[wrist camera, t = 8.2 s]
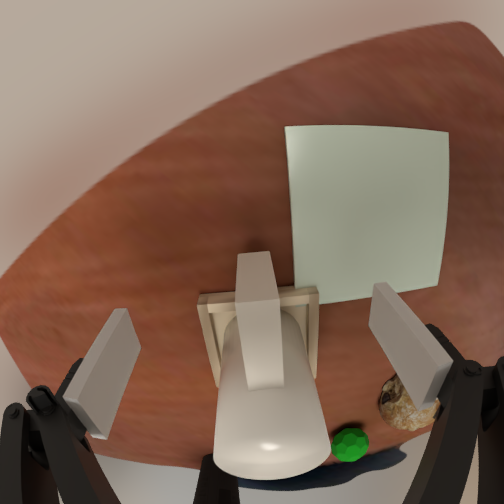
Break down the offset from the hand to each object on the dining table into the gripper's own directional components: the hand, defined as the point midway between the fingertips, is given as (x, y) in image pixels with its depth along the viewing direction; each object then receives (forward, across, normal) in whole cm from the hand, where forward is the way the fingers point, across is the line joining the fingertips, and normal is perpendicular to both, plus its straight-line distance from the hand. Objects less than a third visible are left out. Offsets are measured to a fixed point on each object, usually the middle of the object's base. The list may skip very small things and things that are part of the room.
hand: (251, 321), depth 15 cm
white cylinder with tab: (+8, 0, +5) cm, 9 cm away
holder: (+8, 0, +8) cm, 11 cm away
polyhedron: (+8, -10, +26) cm, 30 cm away
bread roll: (+8, -19, +19) cm, 28 cm away
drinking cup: (+8, +8, +32) cm, 33 cm away
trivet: (+8, -10, -2) cm, 14 cm away
